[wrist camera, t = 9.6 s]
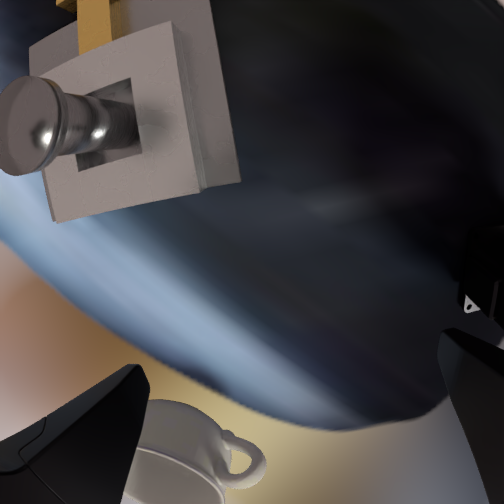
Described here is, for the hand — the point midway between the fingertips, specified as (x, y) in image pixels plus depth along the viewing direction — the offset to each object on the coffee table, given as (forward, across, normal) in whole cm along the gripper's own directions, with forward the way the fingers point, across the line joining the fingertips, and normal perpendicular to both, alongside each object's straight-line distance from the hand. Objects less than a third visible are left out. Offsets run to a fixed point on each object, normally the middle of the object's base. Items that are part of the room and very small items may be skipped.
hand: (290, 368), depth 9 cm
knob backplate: (+12, +9, -13) cm, 20 cm away
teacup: (+12, +10, +16) cm, 23 cm away
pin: (+11, +9, -9) cm, 17 cm away
